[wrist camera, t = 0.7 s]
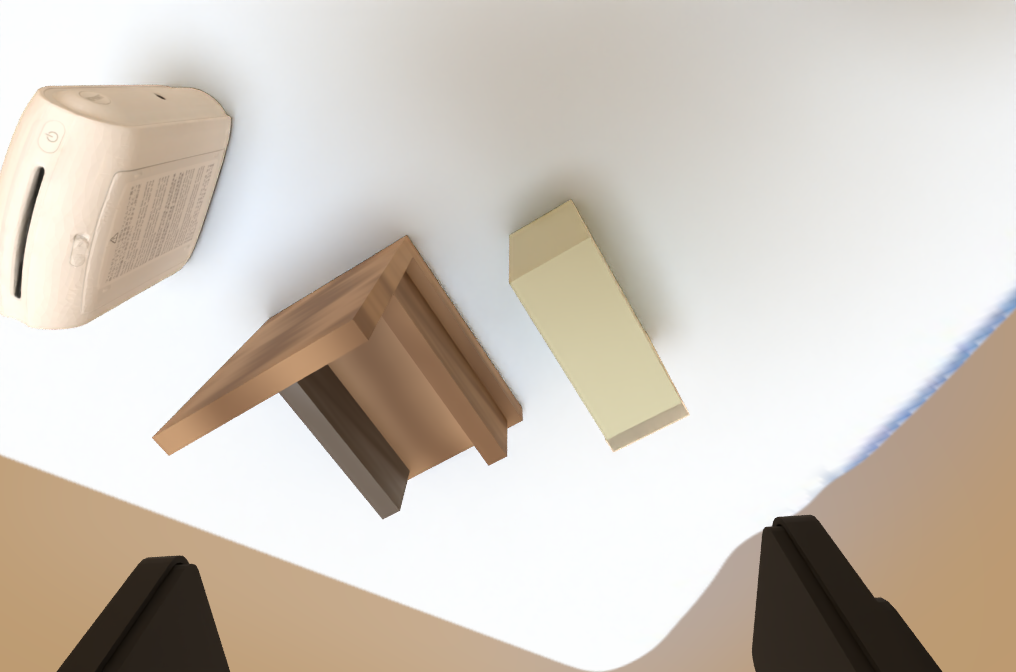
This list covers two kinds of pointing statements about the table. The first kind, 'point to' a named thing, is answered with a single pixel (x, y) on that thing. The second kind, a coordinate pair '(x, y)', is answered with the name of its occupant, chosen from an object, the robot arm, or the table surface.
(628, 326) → the beige rectangular block
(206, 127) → the photo printer
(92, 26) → the table surface
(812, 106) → the table surface
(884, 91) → the table surface
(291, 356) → the shelf
